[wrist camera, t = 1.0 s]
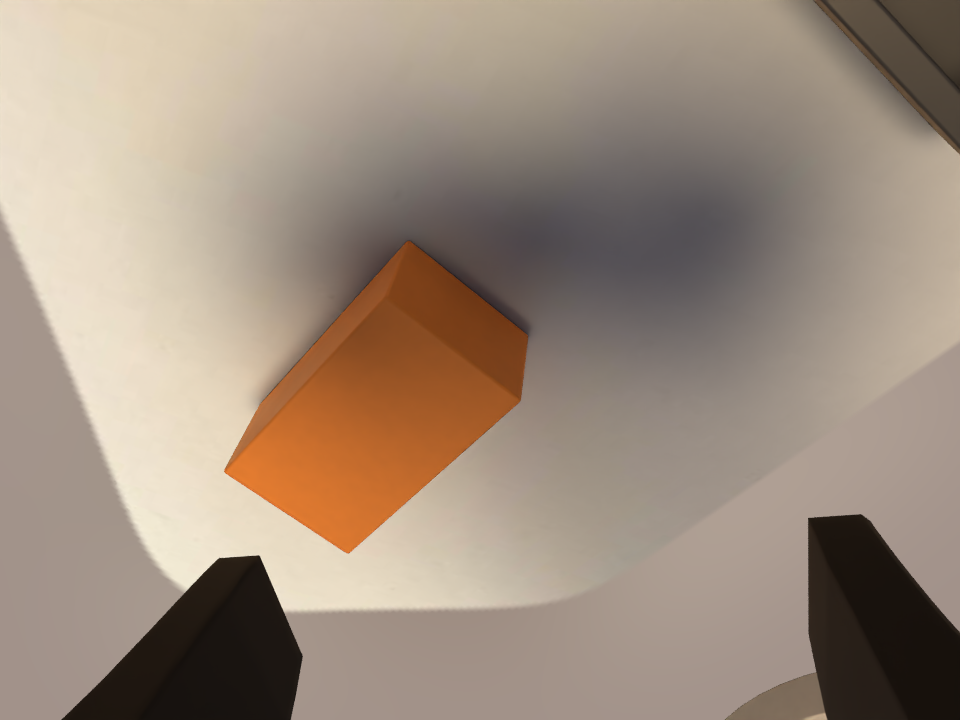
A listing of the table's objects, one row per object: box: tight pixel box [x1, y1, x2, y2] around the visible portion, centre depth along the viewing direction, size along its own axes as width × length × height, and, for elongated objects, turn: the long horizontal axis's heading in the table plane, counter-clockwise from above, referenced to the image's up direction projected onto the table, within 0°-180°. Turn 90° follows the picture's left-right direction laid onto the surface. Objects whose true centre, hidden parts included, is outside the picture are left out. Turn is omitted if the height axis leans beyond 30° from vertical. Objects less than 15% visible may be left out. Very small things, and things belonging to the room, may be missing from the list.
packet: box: [224, 241, 528, 553], centre depth 23 cm, size 4×7×3 cm, turn 140°
